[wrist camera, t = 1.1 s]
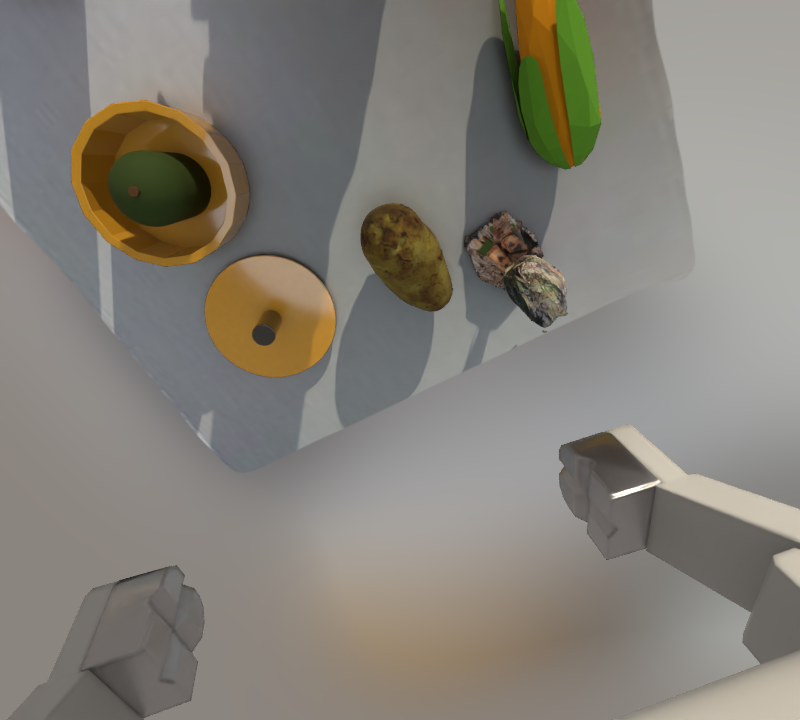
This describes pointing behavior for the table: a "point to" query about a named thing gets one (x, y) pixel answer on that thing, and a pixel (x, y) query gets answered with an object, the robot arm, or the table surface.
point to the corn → (554, 79)
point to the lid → (270, 315)
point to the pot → (162, 132)
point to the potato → (406, 256)
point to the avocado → (159, 187)
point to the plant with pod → (518, 268)
